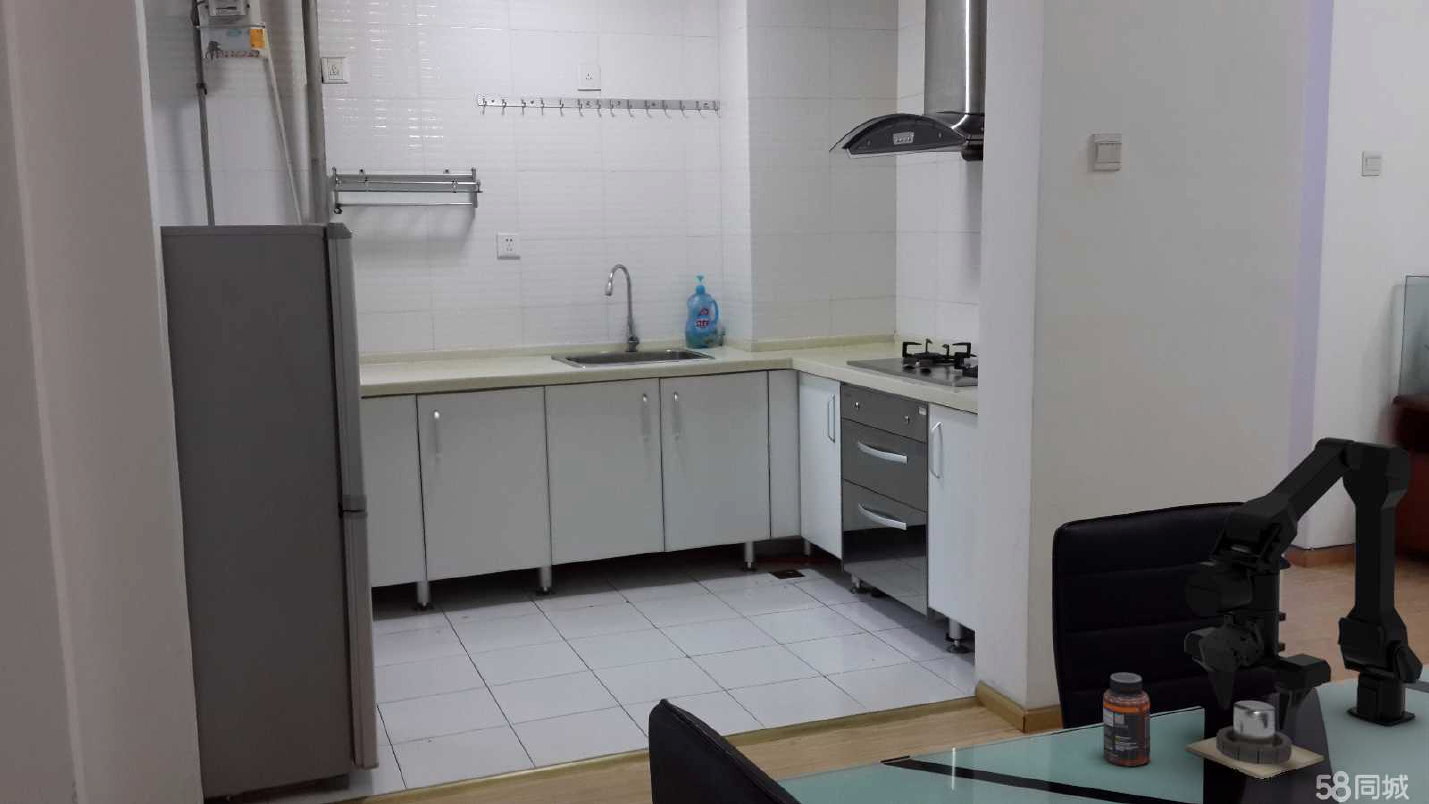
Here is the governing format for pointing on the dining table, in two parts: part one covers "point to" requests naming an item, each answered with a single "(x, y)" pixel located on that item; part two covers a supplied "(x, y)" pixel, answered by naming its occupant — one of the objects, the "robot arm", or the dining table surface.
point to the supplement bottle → (1126, 721)
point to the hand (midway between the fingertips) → (1253, 719)
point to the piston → (1254, 724)
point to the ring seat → (1254, 754)
